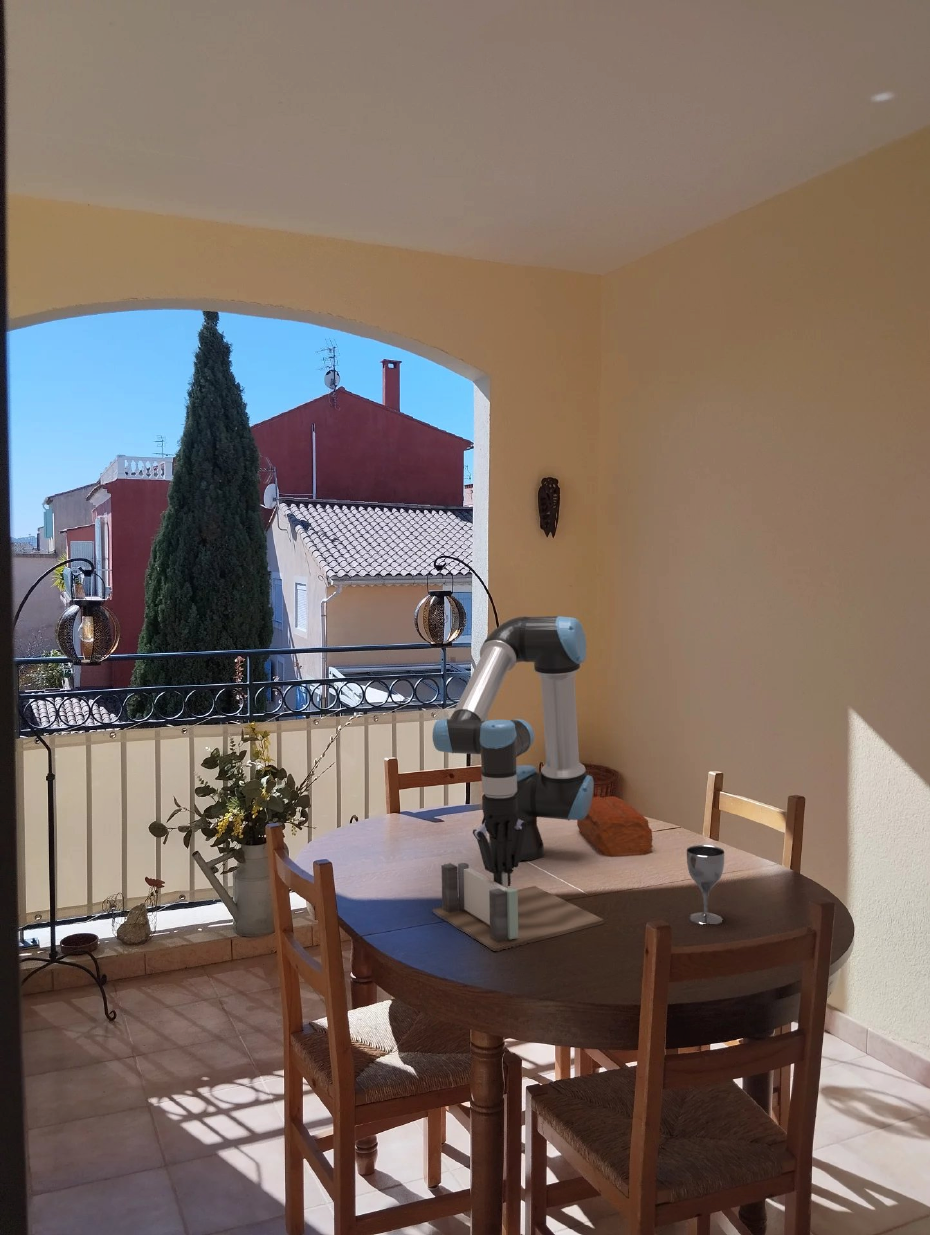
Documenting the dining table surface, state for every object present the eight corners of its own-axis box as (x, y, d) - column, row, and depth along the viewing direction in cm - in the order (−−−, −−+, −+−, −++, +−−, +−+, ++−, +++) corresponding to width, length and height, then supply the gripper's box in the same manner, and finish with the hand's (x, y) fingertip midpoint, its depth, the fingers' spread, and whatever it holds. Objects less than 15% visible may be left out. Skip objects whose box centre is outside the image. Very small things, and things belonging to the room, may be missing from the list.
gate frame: (432, 913, 213) (431, 865, 212) (534, 889, 227) (534, 844, 227) (494, 952, 191) (493, 899, 190) (604, 923, 205) (603, 874, 204)
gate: (456, 908, 213) (455, 863, 212) (466, 906, 214) (465, 861, 214) (509, 941, 194) (508, 892, 193) (519, 938, 195) (518, 890, 194)
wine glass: (725, 914, 209) (725, 846, 208) (723, 927, 201) (723, 857, 201) (688, 910, 212) (688, 844, 211) (685, 923, 204) (684, 854, 203)
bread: (625, 827, 279) (625, 792, 279) (656, 855, 253) (656, 815, 252) (574, 830, 277) (573, 795, 276) (599, 858, 251) (599, 819, 250)
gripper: (514, 785, 208) (517, 890, 210) (465, 794, 202) (468, 903, 204) (534, 792, 202) (536, 900, 204) (483, 802, 195) (487, 914, 197)
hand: (502, 901), depth 204 cm, fingers closed
